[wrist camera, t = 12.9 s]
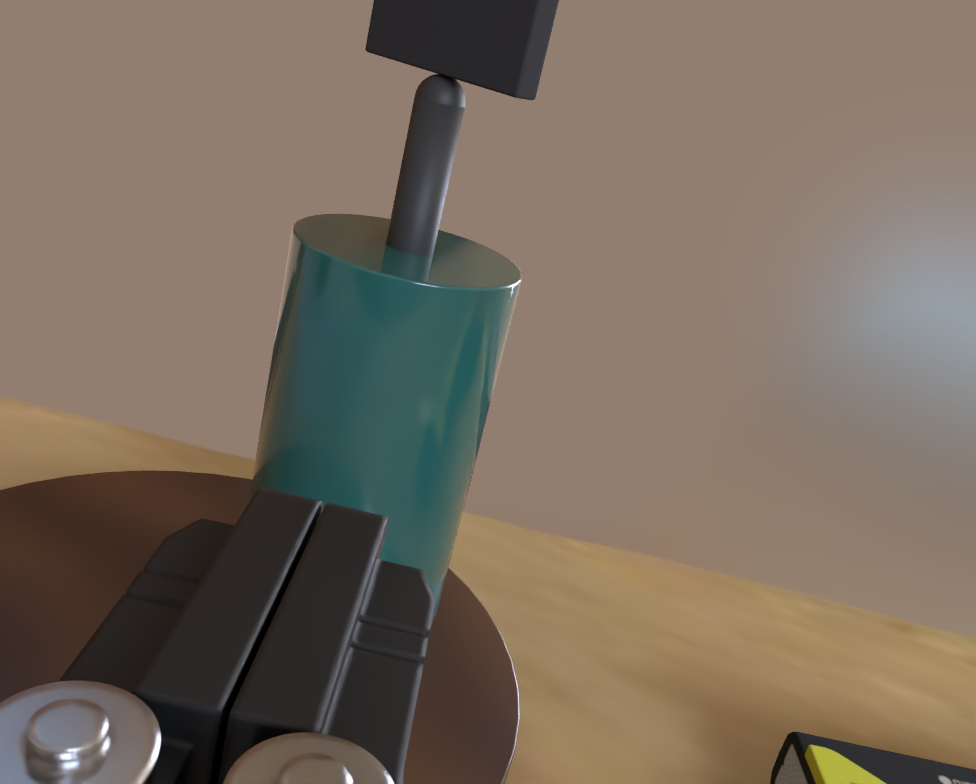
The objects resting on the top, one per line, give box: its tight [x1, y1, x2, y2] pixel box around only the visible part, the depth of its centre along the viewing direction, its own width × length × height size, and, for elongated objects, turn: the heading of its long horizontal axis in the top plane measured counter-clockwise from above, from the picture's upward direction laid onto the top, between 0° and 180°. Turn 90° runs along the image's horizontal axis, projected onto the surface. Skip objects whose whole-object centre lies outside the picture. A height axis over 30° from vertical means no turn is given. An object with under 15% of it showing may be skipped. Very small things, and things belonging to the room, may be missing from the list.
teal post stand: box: [0, 0, 559, 784], centre depth 20 cm, size 17×17×20 cm
